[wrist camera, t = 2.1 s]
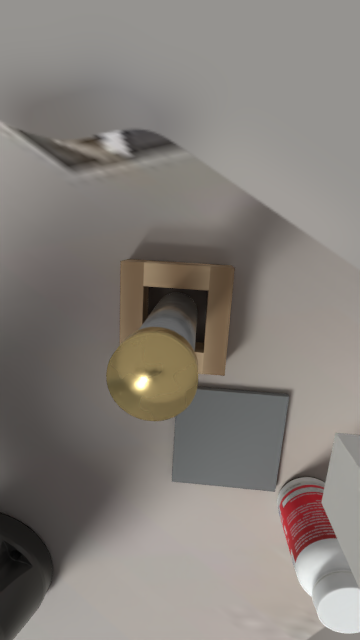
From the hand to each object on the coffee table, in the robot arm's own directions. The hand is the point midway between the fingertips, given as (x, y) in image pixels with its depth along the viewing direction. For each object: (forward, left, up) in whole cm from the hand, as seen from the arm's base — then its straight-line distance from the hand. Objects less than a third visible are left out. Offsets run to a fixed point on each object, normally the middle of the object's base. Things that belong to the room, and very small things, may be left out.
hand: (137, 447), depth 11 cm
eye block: (0, 0, -21) cm, 21 cm away
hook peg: (0, 0, -21) cm, 21 cm away
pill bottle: (+15, -19, -21) cm, 32 cm away
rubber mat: (+6, -13, -21) cm, 25 cm away
